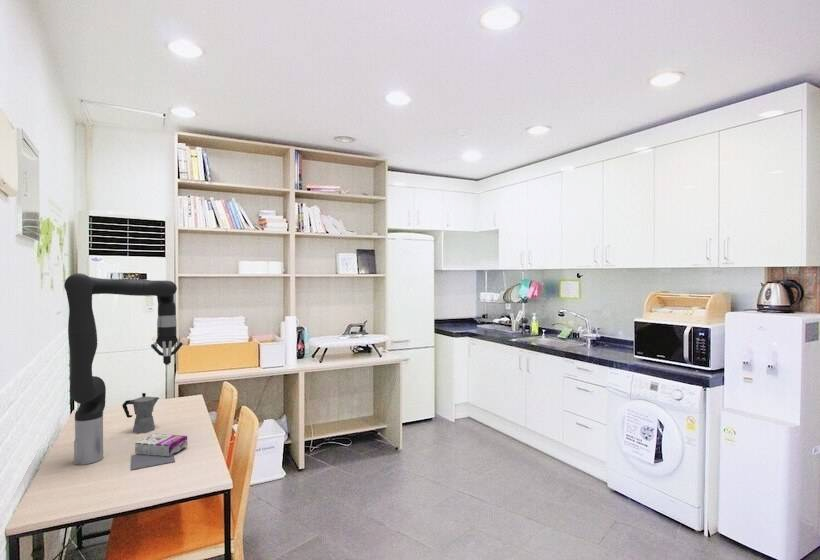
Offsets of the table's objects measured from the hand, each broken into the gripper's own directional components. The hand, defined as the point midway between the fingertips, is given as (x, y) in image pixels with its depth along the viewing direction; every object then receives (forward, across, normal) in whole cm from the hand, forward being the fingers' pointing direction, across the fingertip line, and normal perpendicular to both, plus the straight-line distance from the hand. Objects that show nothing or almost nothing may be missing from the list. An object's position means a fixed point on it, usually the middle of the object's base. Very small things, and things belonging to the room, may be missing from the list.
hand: (167, 364), depth 199 cm
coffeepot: (+35, -10, +25) cm, 44 cm away
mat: (+35, -6, -17) cm, 39 cm away
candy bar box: (+32, +4, -16) cm, 36 cm away
